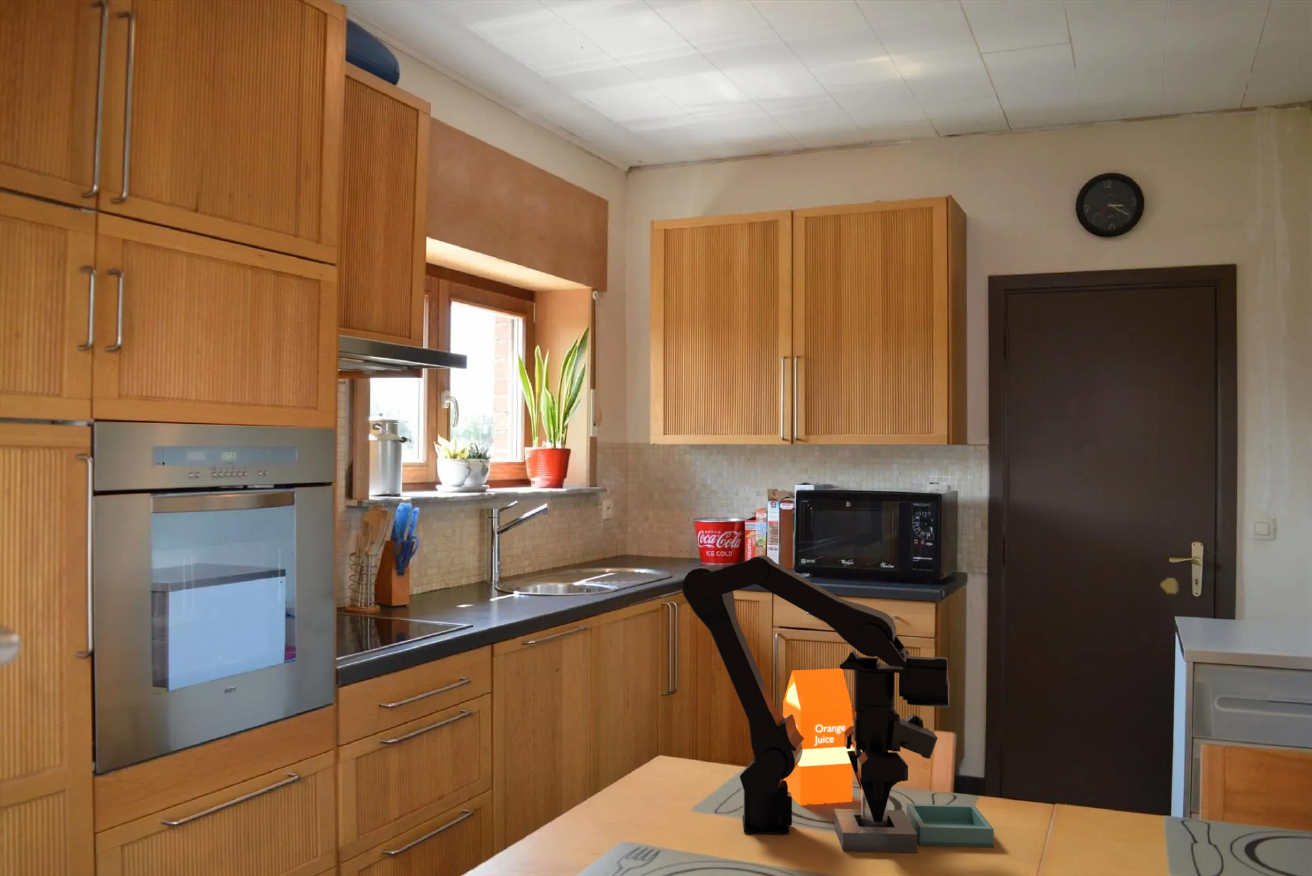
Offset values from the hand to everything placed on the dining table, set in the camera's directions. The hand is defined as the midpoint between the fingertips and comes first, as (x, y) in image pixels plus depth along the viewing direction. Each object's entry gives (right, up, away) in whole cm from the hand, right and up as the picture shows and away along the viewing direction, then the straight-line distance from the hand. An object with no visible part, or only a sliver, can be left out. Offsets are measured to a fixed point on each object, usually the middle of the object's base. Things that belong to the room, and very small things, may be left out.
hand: (874, 813), depth 147 cm
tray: (+11, -4, +2) cm, 12 cm away
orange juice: (-5, -4, +19) cm, 20 cm away
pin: (0, -4, 0) cm, 4 cm away
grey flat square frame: (0, -4, 0) cm, 4 cm away
